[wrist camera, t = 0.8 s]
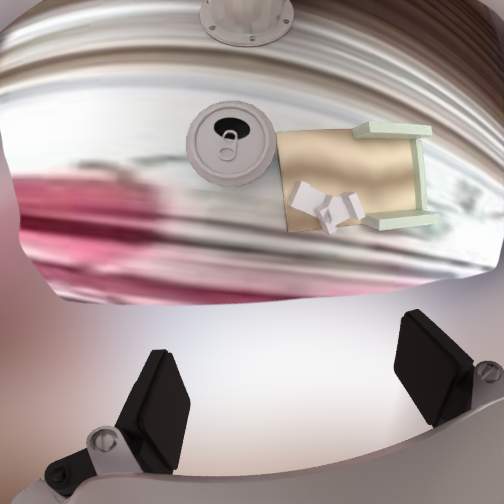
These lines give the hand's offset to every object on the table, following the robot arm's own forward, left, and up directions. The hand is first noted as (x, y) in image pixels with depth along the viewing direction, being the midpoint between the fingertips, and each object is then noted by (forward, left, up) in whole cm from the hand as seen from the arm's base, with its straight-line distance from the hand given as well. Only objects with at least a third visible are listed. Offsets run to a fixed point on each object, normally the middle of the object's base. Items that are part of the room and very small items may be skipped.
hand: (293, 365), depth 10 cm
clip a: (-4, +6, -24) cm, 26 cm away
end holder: (-6, +18, -23) cm, 30 cm away
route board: (-6, +13, -24) cm, 28 cm away
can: (-10, -2, -25) cm, 27 cm away
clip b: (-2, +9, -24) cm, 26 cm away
